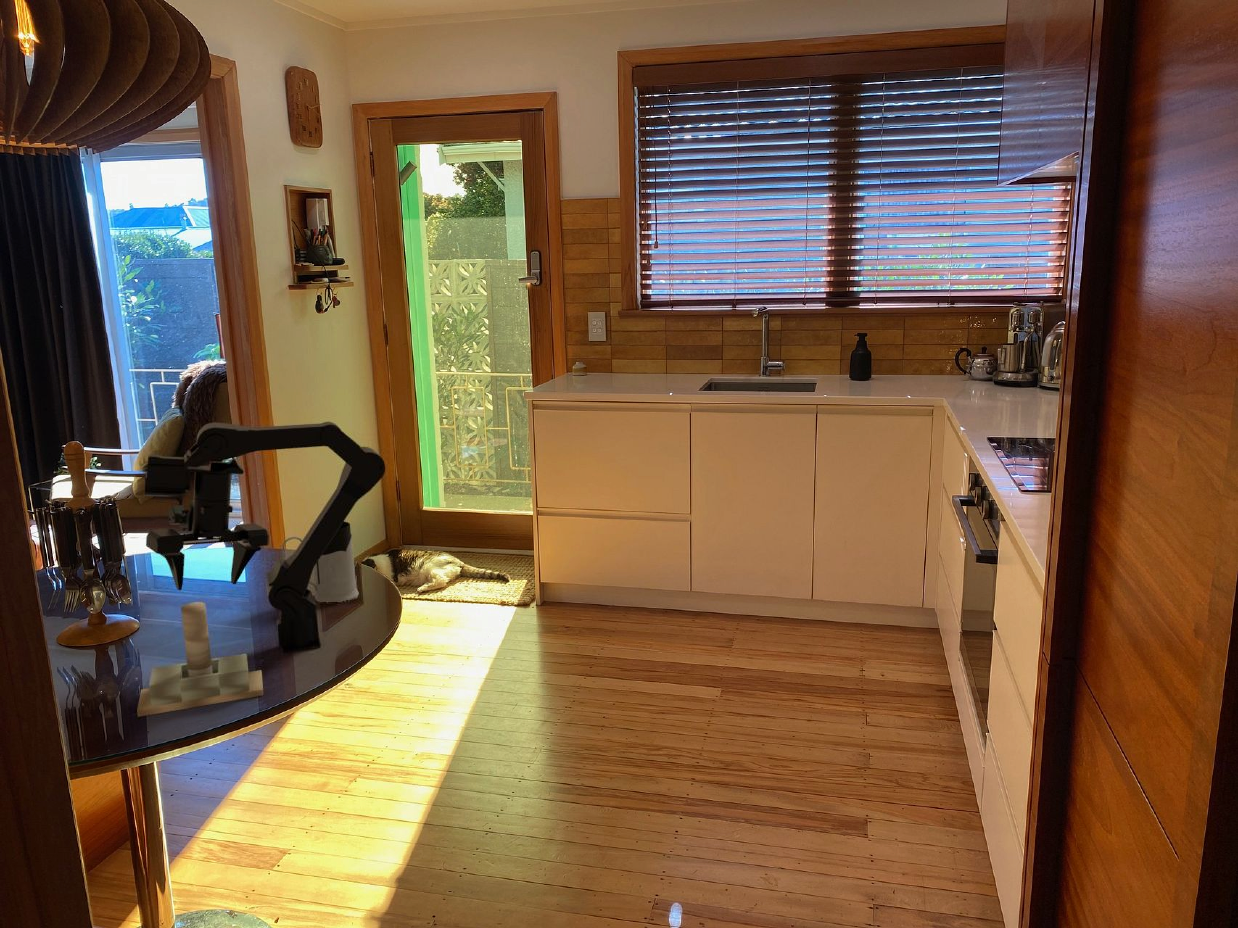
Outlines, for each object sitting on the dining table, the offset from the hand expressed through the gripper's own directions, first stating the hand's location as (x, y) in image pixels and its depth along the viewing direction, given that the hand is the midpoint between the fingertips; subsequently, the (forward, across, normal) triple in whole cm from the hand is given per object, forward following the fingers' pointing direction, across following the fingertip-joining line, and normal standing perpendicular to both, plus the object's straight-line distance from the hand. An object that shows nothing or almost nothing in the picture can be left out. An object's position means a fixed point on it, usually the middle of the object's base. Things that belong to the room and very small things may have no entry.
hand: (206, 586), depth 162 cm
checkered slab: (+13, +5, +14) cm, 20 cm away
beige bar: (+12, +5, +14) cm, 19 cm away
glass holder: (+10, -30, -14) cm, 35 cm away
